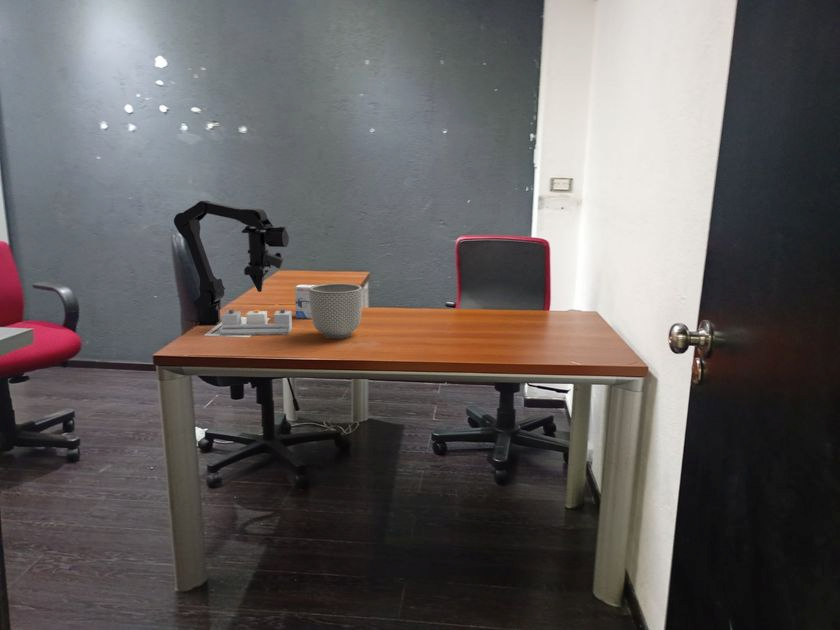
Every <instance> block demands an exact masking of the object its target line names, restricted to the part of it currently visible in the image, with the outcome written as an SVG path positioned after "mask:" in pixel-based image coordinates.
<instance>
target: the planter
mask: <svg viewBox="0 0 840 630" xmlns="http://www.w3.org/2000/svg"><path fill="white" fill-rule="evenodd" d="M314 285H315V286H312V287H310V288H309V300H310V309H311V316H312V318H311V321H312V324H313V326H314V328H315V329H316V330H317V331H318V332H320V333H322V336H323V337H324V338H326V339H329V340H331V339H332V340H340V339H346V338H349V337H350V336H351V335H352V333H353V332H354V331H356V330H357V328H358V327H359V326H360V323H361V319H362V311H363V295H364V293H363V292H364V291H363V287H362V286H361V285H359V284H355V283H343V282H341V283H339V282H338V283H335V282H334V283H322V284H314Z"/></svg>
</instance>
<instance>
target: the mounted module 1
mask: <svg viewBox="0 0 840 630" xmlns="http://www.w3.org/2000/svg"><path fill="white" fill-rule="evenodd" d="M241 312H242V311H237V310H235V309H233V308H232V309H229V310H227V311H224V312H223V314H220V317H221V325H222V324H242V313H241Z"/></svg>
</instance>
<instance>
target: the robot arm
mask: <svg viewBox="0 0 840 630" xmlns="http://www.w3.org/2000/svg"><path fill="white" fill-rule="evenodd" d="M208 214H209V215H212V216H218V217H223V218H227V219H232V220H235V221H238V222H240V223H242V224H243V225H246V226H245V227H244V228H243V229H242V230H241V233H242V234H247V239H248V249H247V254H248V257H249V258H248V259H249V261H248V265H247V266H246V267H245V268H244V269H243V272H244V274H243V275H245V276H249V277H250V279H251V280H252V283H253V285H254V286H255V288H256V290H257V292H258V293H262V291H263V286H264V281H265V276H266V275H267V274H268V272H270V269H271V268H273V267H275V268H277V269H281V268H282V266H283V263H284V260H285V258H284V257H283V256H282V253H281V252H276V253H275V254H274V253H269V249H268V248H267V247H269V248H271V247H272V248H286V247H288V245H289V242H290V241H289V240H290V237H289V235H288V234H289V233H288V231H287V228H286V226H274V225H273V223H272V222H271V220H269V217H268V215H267V212H266V211H265V210H264V209H262V208H254V207H253V208H252V207H251V208H249V207H248V208H243V207H241V208H240V207H236V206H233V205H227V204H221V203H216V202H213V201H210V200H200V201H198V202H197V203H196V204H194V205H193V206H191V207H189V208H188V209H186V210H184V211H183V212H178V213H177V214H176V215H175V216H174V218H173V224H174V226H175V228H176V230H177V231H178V233H179V234H180V235H181V237H182V238H183V239H184V240H185V242H186V246H187V247H188V250H189V253H190V255H191V259H192V262H193V264H194V267H195V270H196V273H197V276H198V279H199V282H198V283H199V284H198V290H199V296H198V297H197V298H196V299H195V300H194V302H193V304H194V306H195V308H196V309H197V313H198V323H197V325H198V326H200V325H201V326H207V325H210V326H212V325H213V326H215V325H218V323H220V322H221V321H222V317H221V309H219V305H220V304H221V300H222V299H223V297H224V296H225V290H226V288H225V286H224V285H223V280H222V278H218V279H217V278H216V277H215V275H214V272H213V270H212V268H211V264H210V261H209V259H208V256H207V254H206V250H205V247H204V245H203V242H202V239H201V235H200V234H201V223H200V221H202V220H203V219H204V218H205V217H206V216H207V215H208ZM266 268H269V270H268V269H266Z"/></svg>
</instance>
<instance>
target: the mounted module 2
mask: <svg viewBox="0 0 840 630" xmlns="http://www.w3.org/2000/svg"><path fill="white" fill-rule="evenodd" d="M292 317H293V316H292V310H286V308H281V309H280V310H275V312H274V314H273V324H287V323H289V327H290V332H291V330H292V328H293V324H292V323H293V321H292V320H293V319H292Z"/></svg>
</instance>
